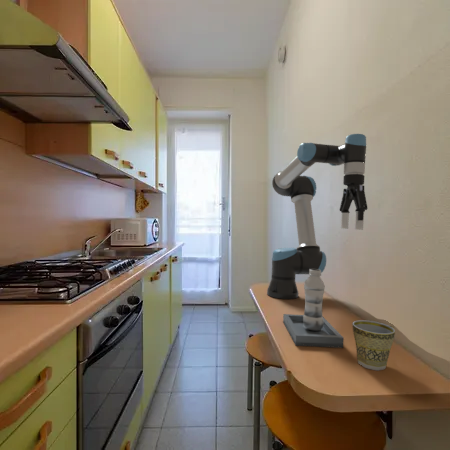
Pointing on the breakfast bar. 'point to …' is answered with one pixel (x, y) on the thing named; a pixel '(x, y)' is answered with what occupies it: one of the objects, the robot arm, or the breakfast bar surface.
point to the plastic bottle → (313, 301)
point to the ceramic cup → (373, 343)
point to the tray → (312, 333)
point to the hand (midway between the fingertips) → (351, 229)
